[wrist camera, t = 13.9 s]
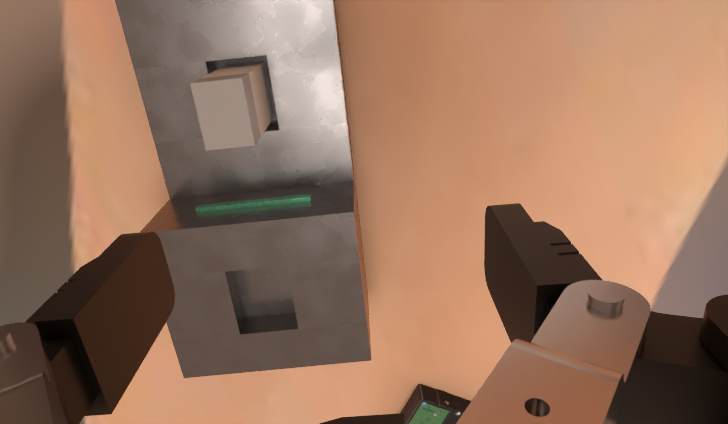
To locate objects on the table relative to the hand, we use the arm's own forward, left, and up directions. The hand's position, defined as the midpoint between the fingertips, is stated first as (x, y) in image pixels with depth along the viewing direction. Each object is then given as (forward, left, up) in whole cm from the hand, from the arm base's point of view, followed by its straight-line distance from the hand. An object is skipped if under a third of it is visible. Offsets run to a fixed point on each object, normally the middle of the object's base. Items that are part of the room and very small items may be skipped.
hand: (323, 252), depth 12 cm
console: (+7, -7, -27) cm, 29 cm away
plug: (0, -7, -26) cm, 27 cm away
